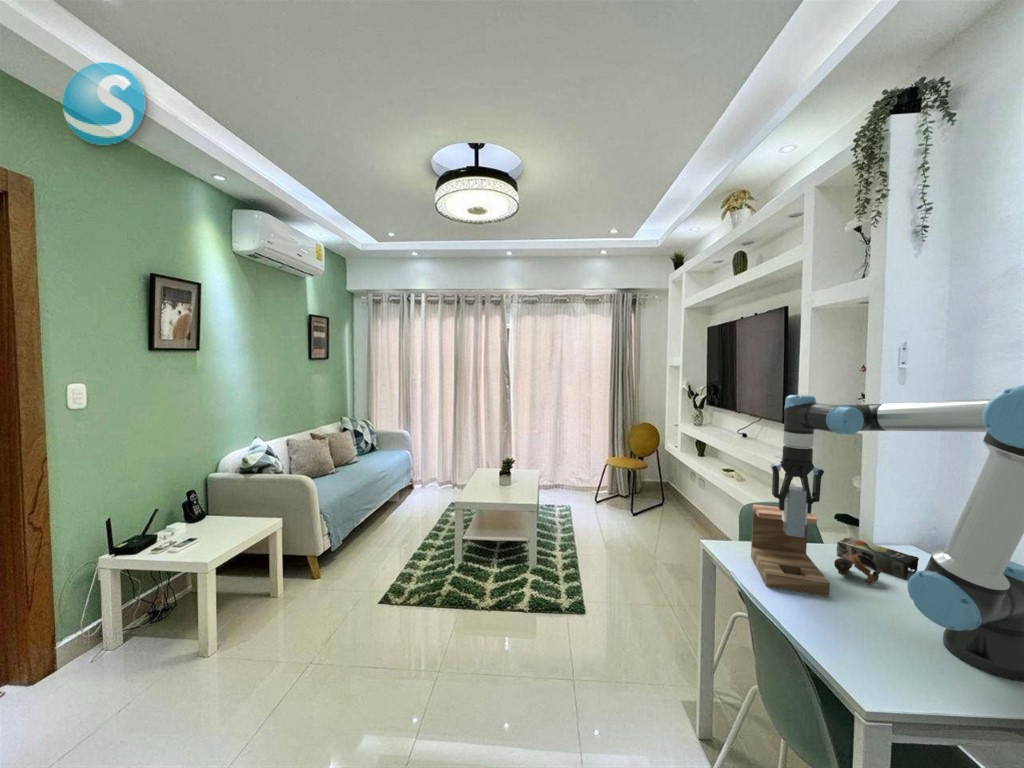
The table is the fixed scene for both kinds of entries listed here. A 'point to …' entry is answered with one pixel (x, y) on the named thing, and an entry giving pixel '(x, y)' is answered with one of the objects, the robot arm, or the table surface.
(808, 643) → the table surface
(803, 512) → the peg
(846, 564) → the brown ring shaped figurine
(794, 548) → the socket stand
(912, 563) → the juice carton
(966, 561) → the robot arm
